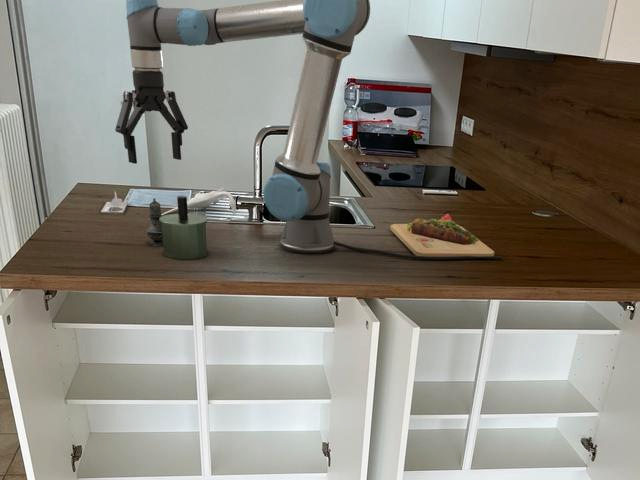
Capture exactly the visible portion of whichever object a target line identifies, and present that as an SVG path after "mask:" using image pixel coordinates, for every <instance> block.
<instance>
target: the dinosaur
mask: <svg viewBox="0 0 640 480" xmlns="http://www.w3.org/2000/svg"><path fill="white" fill-rule="evenodd" d="M225 199H228V202H229V203H228V204H229V206H230V208H231V211H232V213H233V214H236V213H237V205H236V204H237V203H236V200H235V199H234V197H233V195H232V193H231V192H229V191H226V188H225V187H224V186H223V187H221V188H220V189H218V190H212V191H210V192H205V193H201V192H199V193H195V195H194V197H191V198H190V199H189V200H187V209H190V208H197V209H199V208H208V207H211V205H216V204H218V202H220V201H221V200H225ZM174 212H178V206H177V207H174V208H172V209H170V210H167V211H165V212H163V213H161V215H162V216H165V215H169V214H171V213H174Z"/></svg>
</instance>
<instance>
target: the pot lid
mask: <svg viewBox="0 0 640 480" xmlns="http://www.w3.org/2000/svg"><path fill="white" fill-rule="evenodd" d="M176 199H177V207H178V211H177V213H172V214H171V213H169V214H165V215H162V217H160V218H159V221H160V222H161V223H163V224H167V225H172V226H197V225H202V224H205V223H206V224H207V223H208V218H207V217H205V216H203V215H200V214H193V213H189V212H188V208H187V202H188V197H187V196H186V195H178V196H176Z"/></svg>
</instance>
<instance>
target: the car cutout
mask: <svg viewBox="0 0 640 480" xmlns="http://www.w3.org/2000/svg"><path fill="white" fill-rule="evenodd" d="M128 205H129V202H127V201H123V199H121V198H118V194H117V191H116V190H114V198H112V199H111V201H106V202H105V204H104V206H103V207H102V209H101V210H100V214H111V215H113V214H114V215H117V214H118V215H122V214H123V215H124V213H125V210H126V209H127V207H128Z"/></svg>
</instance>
